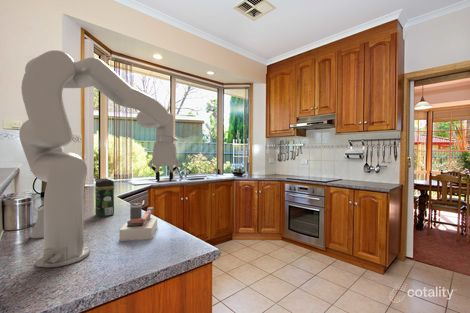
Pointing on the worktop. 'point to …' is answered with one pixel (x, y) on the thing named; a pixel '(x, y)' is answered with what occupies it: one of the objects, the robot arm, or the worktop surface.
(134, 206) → the plug
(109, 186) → the coffee jar
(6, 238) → the worktop surface
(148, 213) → the clip
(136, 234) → the socket block
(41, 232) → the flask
